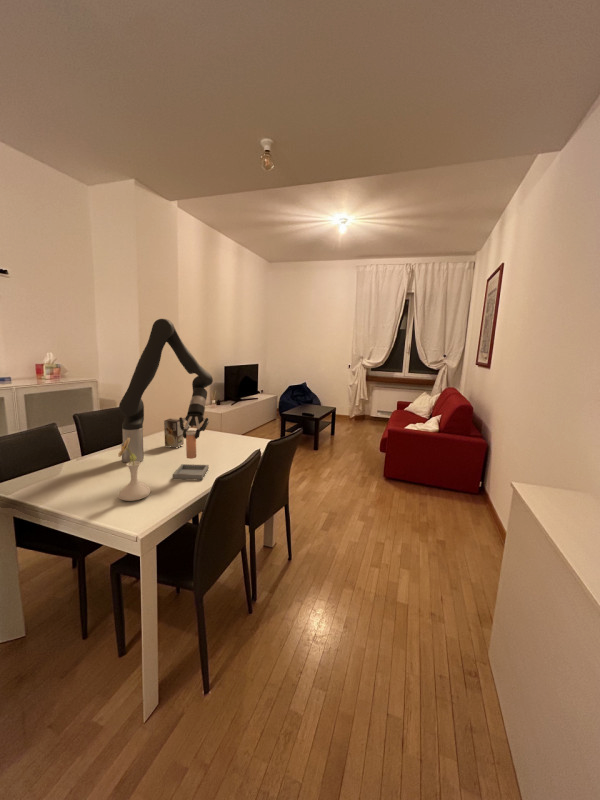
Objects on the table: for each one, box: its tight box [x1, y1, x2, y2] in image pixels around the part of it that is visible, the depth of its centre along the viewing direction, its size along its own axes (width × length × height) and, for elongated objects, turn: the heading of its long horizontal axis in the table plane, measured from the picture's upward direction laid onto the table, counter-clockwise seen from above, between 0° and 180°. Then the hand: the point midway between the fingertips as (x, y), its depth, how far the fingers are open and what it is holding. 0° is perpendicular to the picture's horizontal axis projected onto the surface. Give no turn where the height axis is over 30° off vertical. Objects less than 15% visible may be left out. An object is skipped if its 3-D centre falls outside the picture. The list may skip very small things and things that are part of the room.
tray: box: [172, 463, 210, 481], centre depth 154 cm, size 13×13×2 cm
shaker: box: [185, 429, 197, 460], centre depth 152 cm, size 5×5×12 cm
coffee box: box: [163, 418, 184, 447], centre depth 194 cm, size 9×6×16 cm
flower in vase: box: [117, 437, 151, 502], centre depth 126 cm, size 13×11×25 cm
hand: (190, 437), depth 150 cm, fingers closed on shaker, 4 cm apart
